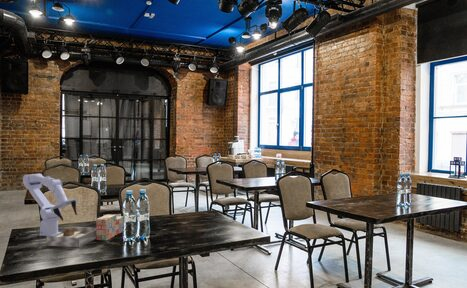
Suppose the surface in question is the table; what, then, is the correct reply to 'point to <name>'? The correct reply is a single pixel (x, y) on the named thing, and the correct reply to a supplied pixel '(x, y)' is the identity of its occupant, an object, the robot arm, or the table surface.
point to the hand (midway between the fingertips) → (69, 217)
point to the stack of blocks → (109, 226)
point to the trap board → (73, 238)
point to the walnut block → (68, 231)
